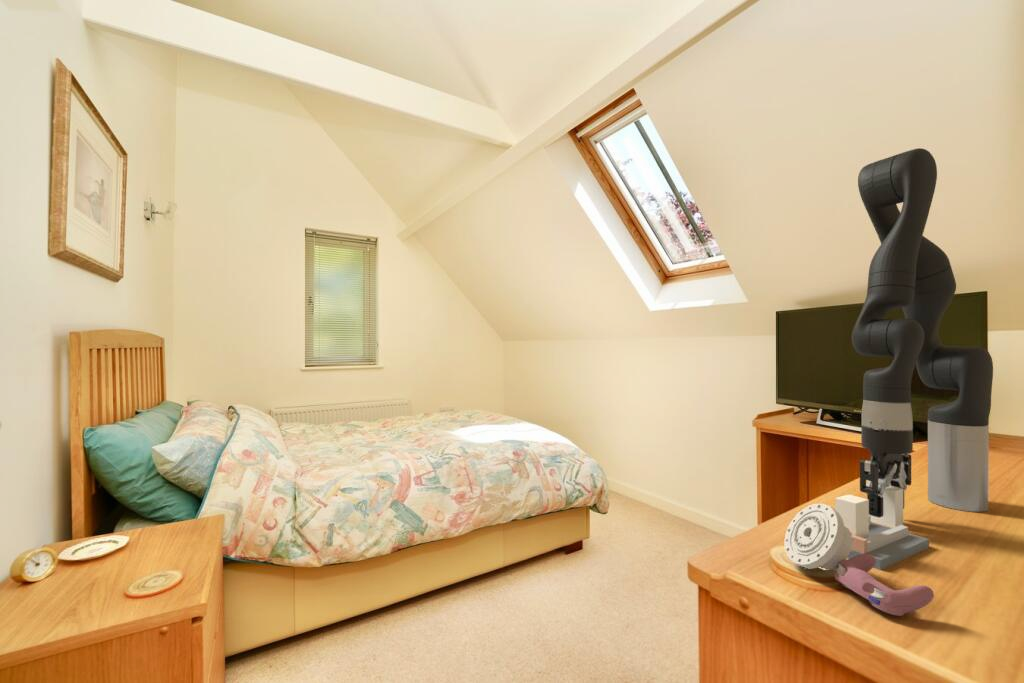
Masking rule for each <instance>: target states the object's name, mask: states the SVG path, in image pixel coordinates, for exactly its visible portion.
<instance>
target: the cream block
mask: <svg viewBox="0 0 1024 683" xmlns="http://www.w3.org/2000/svg"><path fill="white" fill-rule="evenodd" d="M879 486H880V485H878V489H879ZM866 497H867V498H866V499H868V494H866ZM869 516H871V521H873V523H875V522H876V524H878V523H880V525H882V524H883V526H885V525H887V527H888V526H890V528H892V527H893V528H894V527H897V526H899V525H903V526H904V509H903V488H898V487H894V486H889V487H886V488H885V491H884V494H883V516H882V517H875V516H872V515H869Z"/></svg>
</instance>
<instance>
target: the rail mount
mask: <svg viewBox="0 0 1024 683" xmlns="http://www.w3.org/2000/svg"><path fill="white" fill-rule="evenodd" d="M834 504H835V505H834V509H835V510H836V511H837V512H838V513H839V514H840V516H841V517H842V519H843V523H844V526H845V527H846V528H848V529H849V531H850V532H851V533H852V537H853V538H854V540H853V541H852V548H851V549H852V550H853V552H852V553H850V554H849V555H848V557H847V559H851V558H853V557H855V556H857V555H860V554H870V555H872V556H873V557H874V558H875V560H876V563H875V565H874V567H873V568H874V569H877V570H879V571H882V570H885V569H886V568H889V567H890V566H893V565H894V564H897V563H899V562H901V561H904V560H905V559H908V558H911V557H912V556H915V554H918V553H920V552H922V551H925V550H927V549H929V548H930V538H926V537H924V536H920V535H916V534H914V533H910V532H909V526H906V525H904V524H903V525H899V526H897V527H894V528H892V527H888V526H885V525H882V524H878V523H875V522H871V516H870V515H869V500H868V499H867V498H864V497H861V496H860V497H859V496H856V495H853V494H845V495H842V496H838V497H835V500H834ZM873 568H872V569H873Z"/></svg>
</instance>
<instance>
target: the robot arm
mask: <svg viewBox="0 0 1024 683" xmlns="http://www.w3.org/2000/svg"><path fill="white" fill-rule="evenodd" d="M937 179H938V167H937V163H936V160H935V157H934V156H933V154H932V153H931V152H930V151H929V150H927V149H925V148H920V147H919V148H914V149H910V150H907V151H904V152H900V153H897V154H895V155H890V156H888V157H885V158H883V159H880V160H876V161H874V162H871V163H869V164H867V165H865V166H863V167H862V168H861V169H860V171H859V173H858V177H857V187H858V191H859V195H860V199H861V201H862V203H863V205H864V208H865V210H866V212H867V214H868V217H869V219H870V222H871V223H872V227H873V228H874V230H875V233H876V235H877V237H878V240H879V241H880V245H879V247H878V248H877V250H876V251H875V252H874V255H873V257H872V259H871V261H870V264H869V268H868V278H867V287H866V288H867V291H866V297H865V300H864V303H863V304H862V308H861V311H860V313H859V316H858V317H857V319H856V322H855V324H854V326H853V328H852V332H851V343H852V344H851V345H852V347H853V348H854V350H855V351H856V352H857V353H858V354H859V355H861V356H866V357H867V356H868V357H894V358H893V360H892V362H891V363H890V365H888V366H886V367H880V368H873V369H868V370H866V371H865V373H863V382H862V383H863V384H862V397H863V398H862V399H863V400H862V407H861V443H860V444H861V447H863V449H865V450H868V451H870V456H869V460H868V459H862V458H861V459H860V461H859V491H860V492H861V493H864V494H866V495H867V494H868V500H869V516H870V515H872V516H875V517H882V516H883V494H884V491H885V488H886V487H889V486H894V487H898V488H903V510H904V509H905V491H906V490H907V489H908V488H907V487H909V486H911V485H912V455H911V453H912V452H913V443H914V438H913V437H914V432H913V431H914V425H913V424H914V420H913V418H914V417H913V410H912V403H911V402H912V378H913V374H914V370H915V367H916V370H917V373H918V376H919V378H920V380H921V382H922V383H923V384H924V385H925V386H927V387H928V388H932V389H936V390H937V389H938V390H949V391H950V390H951V391H952V390H953V391H959V393H958V397H957V398H956V399H954V400H953V401H951V402H948V403H944V404H943V403H942V404H939V405H933V406H931V407H929V408H928V410H927V501H929V502H930V503H933V504H935V505H938V506H941V507H945V508H948V509H952V510H957V511H965V512H973V513H977V512H978V513H983V512H988V511H989V490H990V489H989V488H990V487H989V483H990V481H989V475H990V474H989V472H990V471H989V470H990V469H989V461H990V460H989V458H990V457H989V455H990V454H989V452H990V451H989V444H990V442H989V421H990V420H989V419H990V414H991V408H992V388H993V378H994V362H993V357H992V355H991V354H990V352H989V351H988V350H987V349H986V348H984V347H981V346H967V345H966V346H965V345H964V346H962V345H961V346H960V345H957V346H956V345H955V346H954V345H953V346H952V345H947V346H946V345H943V344H942V342H941V340H940V336H939V326H940V324H941V320H942V319H943V315H944V314H945V312H946V311H947V310H948V308H949V306H950V304H951V302H952V300H953V298H954V296H955V293H956V291H957V282H956V279H955V275H954V272H953V269H952V265H951V262H950V259H949V257H948V255H947V254H946V253H945V251H943V250H942V249H941V248H940V247H939V245H937V244H935V243H934V242H933V241H931V240H929V239H928V238H927V237H926V236H924V232H925V229H926V228H925V227H926V225H927V221H928V218H929V213H930V209H931V206H932V202H933V199H934V194H935V191H936V190H935V189H936V186H937ZM898 204H902V207H901V211H900V210H899V207H898ZM897 309H901V310H902V312H903V315H904V318H884V317H885V316H886V314H887V313H889V312H891V311H895V310H897ZM883 318H884V319H883ZM878 485H880V486H879V489H878Z"/></svg>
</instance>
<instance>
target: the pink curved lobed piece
mask: <svg viewBox="0 0 1024 683" xmlns="http://www.w3.org/2000/svg"><path fill="white" fill-rule="evenodd" d="M875 563H876V560H875V558H874V557H873V556H872V555H870V554H860V555H857V556H855V557H853V558H851V559H849V558H847V559H846V560H844V561H841V562H840V563H839V564H838V566H837V567H836V569H835V570H834V574H835V578H834V579H835V580H836V581H837V582H839V583H840V584H841V585H842V586H843V587H844V588H846V589H848V590H851V591H853V592H854V593H855V594H857V595H859V596H861V597H862V598H864V599H866V600H868V601H869V603H870V604H871V606H873V607H874V608H876V609H878V610H880V611H882V612H884V613H886V614H888V615H893V616H900V617H902V616H904V615H905V614H906V613H907V614H908V613H910V612H914V611H919V610H920V609H922V608H924V607H926V606H927V605H929V604H930V603H931V602H932V601H933V599H934V597H935V595H934V591H933V589H932V588H931V587H929V586H927V585H924V584H923V585H920V584H919V585H914V586H911V587H908V588H904V589H900V590H898V589H897V590H895V589H893V588H891V587H889V586H887V585H886V584H883V583H882V582H881V581H878V580H877V579H876V578H875V577H873V575H871V574H870V573H868V572H870V571H871V570H872V569H873V567H874V565H875Z"/></svg>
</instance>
